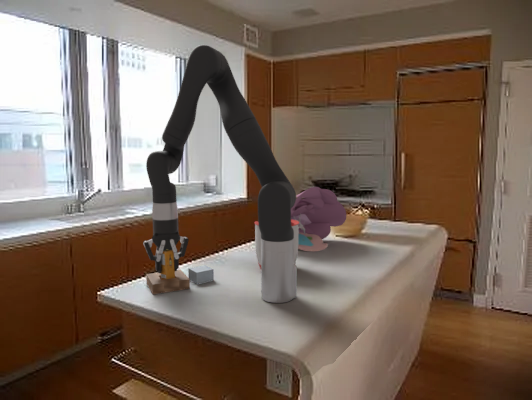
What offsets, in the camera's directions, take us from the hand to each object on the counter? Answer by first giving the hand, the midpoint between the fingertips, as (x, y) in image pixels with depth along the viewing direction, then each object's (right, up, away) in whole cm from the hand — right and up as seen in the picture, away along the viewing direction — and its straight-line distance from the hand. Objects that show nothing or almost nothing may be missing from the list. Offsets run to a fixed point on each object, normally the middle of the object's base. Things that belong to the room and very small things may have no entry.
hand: (167, 271), depth 125 cm
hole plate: (0, -5, +1) cm, 5 cm away
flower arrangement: (+48, +2, +51) cm, 70 cm away
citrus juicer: (+34, -2, +18) cm, 38 cm away
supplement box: (0, -3, 0) cm, 3 cm away
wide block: (+9, -4, +6) cm, 12 cm away
